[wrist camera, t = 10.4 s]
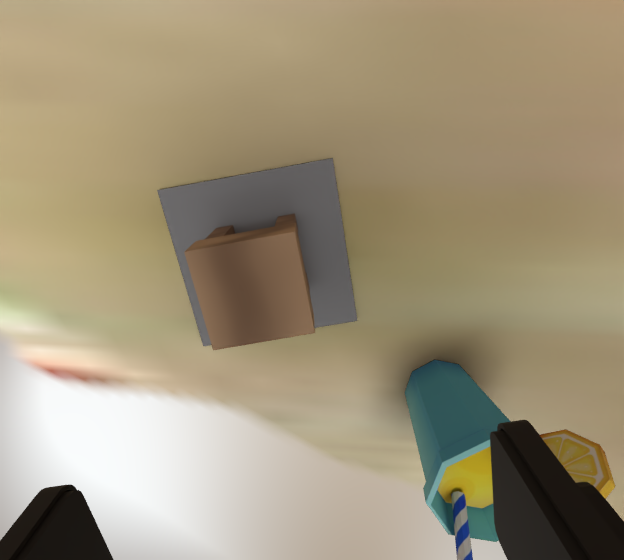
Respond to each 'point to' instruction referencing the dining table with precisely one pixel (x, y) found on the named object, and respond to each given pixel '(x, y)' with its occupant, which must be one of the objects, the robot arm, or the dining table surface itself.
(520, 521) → the robot arm
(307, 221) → the mat
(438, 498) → the cup
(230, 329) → the brown box with pegs
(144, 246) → the dining table surface
